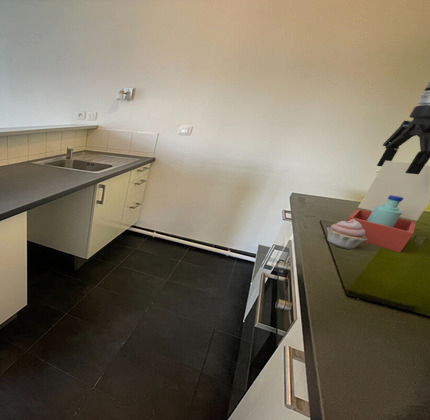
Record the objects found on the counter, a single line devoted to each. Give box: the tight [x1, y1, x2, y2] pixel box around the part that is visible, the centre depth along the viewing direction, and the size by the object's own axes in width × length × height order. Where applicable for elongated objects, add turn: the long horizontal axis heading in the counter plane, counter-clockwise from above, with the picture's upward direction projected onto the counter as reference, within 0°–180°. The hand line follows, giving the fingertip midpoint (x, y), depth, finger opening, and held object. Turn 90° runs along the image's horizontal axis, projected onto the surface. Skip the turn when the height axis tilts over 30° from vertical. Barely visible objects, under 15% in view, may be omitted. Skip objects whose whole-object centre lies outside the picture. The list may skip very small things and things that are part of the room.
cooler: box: [346, 208, 417, 253], centre depth 88 cm, size 18×14×8 cm
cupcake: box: [326, 219, 367, 251], centre depth 82 cm, size 9×9×10 cm
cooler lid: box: [357, 160, 430, 222], centre depth 89 cm, size 19×14×1 cm
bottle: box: [367, 195, 403, 227], centre depth 87 cm, size 6×6×16 cm
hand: (396, 169), depth 87 cm, fingers open, 13 cm apart
